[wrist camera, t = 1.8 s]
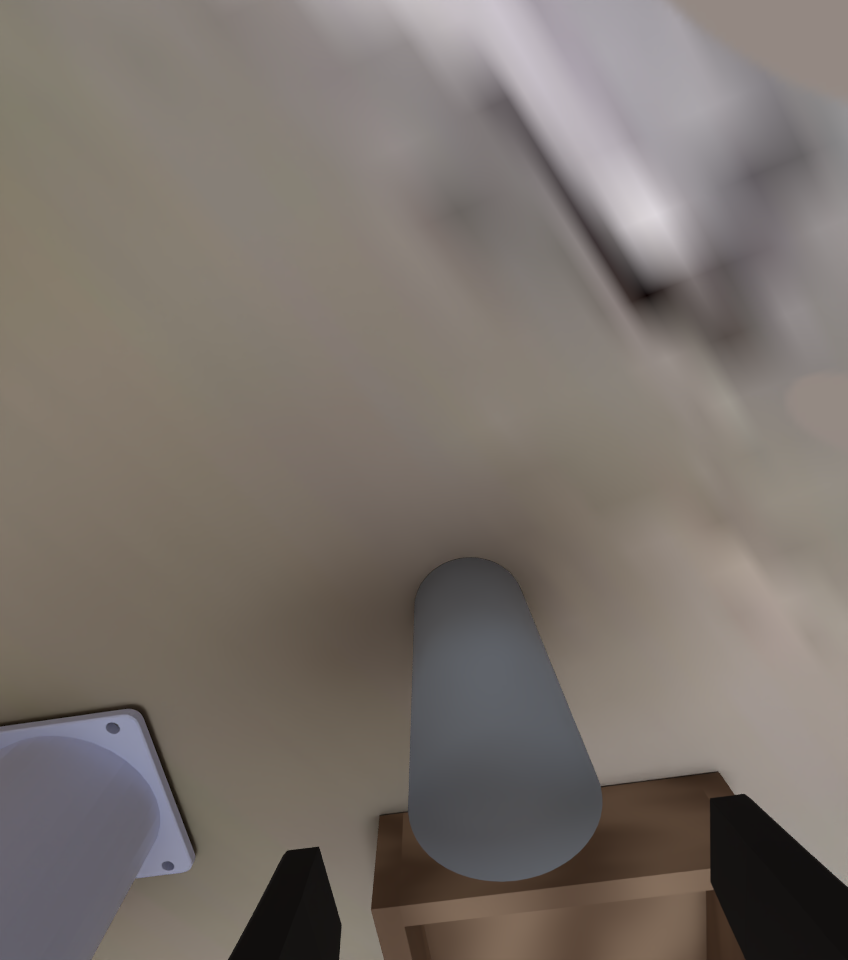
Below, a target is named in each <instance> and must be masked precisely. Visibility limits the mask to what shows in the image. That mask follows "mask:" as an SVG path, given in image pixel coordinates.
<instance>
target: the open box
mask: <svg viewBox="0 0 848 960" xmlns="http://www.w3.org/2000/svg"><path fill="white" fill-rule="evenodd" d="M601 791H602V812H601V817H600V820H599V823H598V826H597V828H596V830H595V832H594V834H593V836H592V837H591V839H590V840H589V841H588V843H587V844H586V845H585V846H584V847H583V849H582V850H581V851H580V852H579V853H578V854H576V855H575V856H574V857H573V858H572V859H570V860H569V861H567V862H566V863H564V864H563V865H561V866H560V867H558V868H556V869H554V870H552V871H550V872H547V873H544V874H542V875H539V876H536V877H532V878H528V879H523V880H517V881H505V882H499V881H485V880H478V879H474V878H470V877H466V876H463V875H460V874H458V873H455V872H453V871H451V870H449V869H447V868H445V867H444V866H442V865H441V864H439V863H438V862H436V861H435V860H434V859H433V858H431V857H430V856H429V855H428V854H427V853H426V852H425V850H424V849H423V848H422V847H421V845H420V844H419V843H418V841H417V840H416V838H415V835H414V833H413V831H412V828H411V825H410V822H409V815H408V812H405V813H397V814H390V815H382V816H380V819H379V829H378V840H377V851H376V862H375V873H374V884H373V894H372V905H371V911H372V915H373V919H374V923H375V927H376V930H377V934H378V938H379V942H380V946H381V949H382V953H383V957H384V960H746V959H745V958H744V955H743V953H742V951H741V949H740V947H739V945H738V942H737V940H736V938H735V936H734V934H733V932H732V929H731V927H730V925H729V923H728V921H727V918H726V916H725V914H724V912H723V909H722V907H721V905H720V903H719V900H718V898H717V896H716V894H715V891H714V889H713V887H712V884H711V882H710V798H715V797H723V796H731V795H734V793H733V792H732V790H731V789H730V787H729V786H728V785H727V783H726V782H725V780H724V779H723V777H722V776H721V775H720V773H719V772H715V773H707V774H700V775H692V776H684V777H676V778H669V779H661V780H653V781H645V782H638V783H630V784H622V785H614V786H607V787H601Z"/></svg>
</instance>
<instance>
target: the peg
mask: <svg viewBox="0 0 848 960" xmlns="http://www.w3.org/2000/svg"><path fill="white" fill-rule="evenodd" d="M601 812H602V791H601V786H600V783H599V780H598V777H597V775H596V773H595V770H594V768H593V765H592V763H591V760H590V758H589V755H588V753H587V750H586V748H585V746H584V743H583V741H582V738H581V736H580V733H579V731H578V728H577V726H576V723H575V721H574V719H573V716H572V714H571V711H570V709H569V706H568V704H567V701H566V699H565V696H564V694H563V691H562V689H561V687H560V684H559V682H558V679H557V677H556V674H555V672H554V669H553V667H552V664H551V662H550V660H549V657H548V655H547V652H546V650H545V647H544V645H543V642H542V640H541V637H540V635H539V633H538V630H537V628H536V625H535V623H534V620H533V618H532V615H531V613H530V610H529V608H528V606H527V603H526V601H525V598H524V596H523V593H522V591H521V588H520V586H519V584H518V583H517V581H516V580H515V578H514V577H513V576H512V575H511V574H510V573H509V572H508V571H507V570H506V569H505V568H503V567H502V566H500V565H498V564H497V563H494V562H492V561H489V560H486V559H481V558H460V559H455V560H452V561H449V562H446V563H444V564H442V565H440V566H439V567H437V568H436V569H434V570H433V571H432V572H431V573H430V574H429V575H428V576H427V577H426V578H425V579H424V581H423V582H422V584H421V585H420V587H419V589H418V592H417V595H416V598H415V608H414V640H413V672H412V704H411V736H410V768H409V800H408V815H409V822H410V825H411V828H412V831H413V833H414V835H415V838H416V840H417V841H418V843H419V844H420V845H421V847H422V848H423V849H424V850H425V852H426V853H427V854H428V855H429V856H430V857H431V858H433V859H434V860H435V861H436V862H438V863H439V864H441V865H442V866H444V867H445V868H447V869H449V870H451V871H453V872H455V873H458V874H460V875H463V876H466V877H470V878H474V879H478V880H485V881H499V882H505V881H517V880H523V879H528V878H532V877H536V876H539V875H542V874H544V873H547V872H550V871H552V870H554V869H556V868H558V867H560V866H561V865H563V864H564V863H566V862H567V861H569V860H570V859H572V858H573V857H574V856H575V855H576V854H578V853H579V852H580V851H581V850H582V849H583V847H584V846H585V845H586V844H587V843H588V841H589V840H590V839H591V837H592V836H593V834H594V832H595V830H596V828H597V826H598V823H599V820H600V817H601Z"/></svg>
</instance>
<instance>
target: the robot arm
mask: <svg viewBox="0 0 848 960" xmlns="http://www.w3.org/2000/svg"><path fill="white" fill-rule="evenodd" d="M114 723H116V724H118V726H117V725H115V724H114ZM194 860H195V853H194V850H193V848H192V845H191V843H190V840H189V837H188V835H187V832H186V829H185V827H184V824H183V821H182V819H181V816H180V813H179V811H178V808H177V805H176V803H175V800H174V797H173V795H172V792H171V790H170V787H169V784H168V782H167V779H166V776H165V774H164V771H163V768H162V766H161V763H160V760H159V758H158V755H157V752H156V750H155V747H154V745H153V742H152V739H151V737H150V734H149V731H148V729H147V726H146V723H145V721H144V718H143V716H142V715H141V713H139V712H138V711H136V710H134V709H122V710H115V711H108V712H101V713H94V714H87V715H80V716H72V717H65V718H58V719H51V720H44V721H37V722H30V723H23V724H16V725H9V726H2V727H0V960H91V959H92V957H93V955H94V953H95V952H96V950H97V948H98V946H99V944H100V942H101V940H102V939H103V937H104V935H105V933H106V931H107V929H108V928H109V926H110V924H111V922H112V920H113V918H114V916H115V915H116V913H117V911H118V909H119V907H120V905H121V904H122V902H123V900H124V898H125V896H126V894H127V893H128V891H129V889H130V887H131V885H132V883H133V881H134V880H135V878H143V877H151V876H159V875H167V874H175V873H183V872H186V871H188V870H190V869H191V867H192V865H193V862H194ZM710 882H711V884H712V887H713V889H714V891H715V894H716V896H717V898H718V900H719V903H720V905H721V907H722V909H723V912H724V914H725V916H726V918H727V921H728V923H729V925H730V927H731V929H732V932H733V934H734V936H735V938H736V940H737V942H738V945H739V947H740V949H741V951H742V953H743V955H744V958H745V959H746V960H848V887H847V886H846V885H845V884H844V883H842V882H841V881H840V880H839V879H838V878H837V877H836V876H835V875H833V874H832V873H831V872H830V871H829V870H828V869H827V868H826V867H825V866H823V865H822V864H821V863H820V862H819V861H818V860H817V859H816V858H815V857H813V856H812V855H811V854H810V853H809V852H808V851H807V850H806V849H805V848H804V847H802V846H801V845H800V844H799V843H798V842H797V841H796V840H795V839H794V838H793V837H792V836H790V835H789V834H788V833H787V832H786V831H785V830H784V829H783V828H782V827H781V826H780V825H779V824H777V823H776V822H775V821H774V820H773V819H772V818H771V817H770V816H769V815H768V814H767V813H766V812H764V811H763V810H762V809H761V808H760V807H759V806H758V805H757V804H756V803H755V802H754V801H753V800H752V799H750V798H749V797H748V796H746V795H745V794H740V795H731V796H723V797H715V798H710ZM341 926H342V925H341V921H340V918H339V915H338V911H337V908H336V904H335V901H334V897H333V894H332V890H331V887H330V883H329V880H328V876H327V873H326V869H325V866H324V862H323V859H322V855H321V852H320V848H319V847H312V848H304V849H296V850H288V851H287V852H286V853H285V854H284V855H283V857H282V859H281V861H280V863H279V864H278V866H277V868H276V870H275V872H274V874H273V876H272V878H271V880H270V882H269V884H268V886H267V888H266V890H265V892H264V894H263V896H262V898H261V899H260V901H259V903H258V905H257V907H256V909H255V911H254V913H253V915H252V917H251V918H250V920H249V922H248V924H247V926H246V928H245V930H244V931H243V933H242V935H241V937H240V939H239V941H238V943H237V944H236V946H235V948H234V950H233V952H232V954H231V955H230V957H229V959H228V960H339V952H340V939H341Z"/></svg>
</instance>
